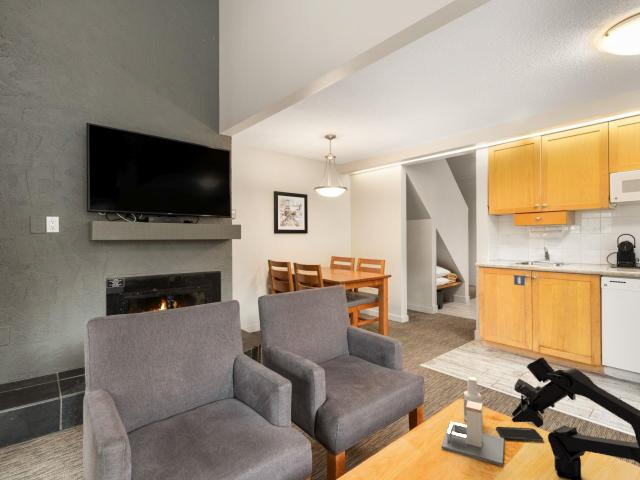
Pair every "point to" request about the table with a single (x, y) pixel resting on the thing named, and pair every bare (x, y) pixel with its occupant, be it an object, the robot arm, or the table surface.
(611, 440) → the robot arm
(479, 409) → the tall rectangular pillar
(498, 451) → the base board
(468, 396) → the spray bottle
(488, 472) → the table surface
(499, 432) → the phone
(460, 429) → the friction collar
